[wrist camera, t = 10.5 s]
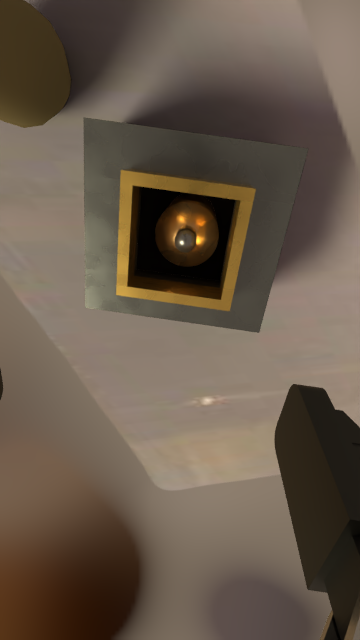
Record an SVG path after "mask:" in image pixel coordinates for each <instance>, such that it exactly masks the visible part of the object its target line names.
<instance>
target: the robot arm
mask: <svg viewBox="0 0 360 640" xmlns="http://www.w3.org/2000/svg"><path fill="white" fill-rule="evenodd" d="M2 392H3V382H2V376H1V370H0V399H1V397H2ZM275 450H276V455H277V459H278V464H279V468H280V472H281V477H282V481H283V485H284V489H285V494H286V498H287V502H288V507H289V511H290V516H291V519H292V524H293V529H294V533H295V537H296V541H297V545H298V550H299V555H300V559H301V563H302V567H303V572H304V576H305V580H306V585H307V589H308V590H314V591H320V592H327V593H328V596H329V600H330V603H331V607H332V611H331V612H330V614H329V616H328V618H327V621H326V624H325V626H324V629H323V632H322V634H321V637H320V640H360V428H359V426H358V425H357V424H356V423H355V422H354V421H353V420H352V419H351V418H350V417H349V416H347V415H346V414H345V413H344V412H343V411H341V410H335V408H334V406H333V404H332V402H331V400H330V398H329V396H328V394H327V393H326V391H325V390H324V389H323V388H318V387H311V386H304V385H297V384H293V385H292V386H291V387H290V389H289V392H288V395H287V397H286V400H285V403H284V406H283V409H282V412H281V414H280V417H279V420H278V423H277V426H276V430H275Z"/></svg>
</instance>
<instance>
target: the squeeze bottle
mask: <svg viewBox="0 0 360 640" xmlns="http://www.w3.org/2000/svg"><path fill="white" fill-rule="evenodd" d="M70 86H71V77H70V72H69V67H68V63H67V59H66V55H65V51H64V47H63V44H62V43H61V41H60V39H59V37H58V36H57V34H56V32H55V30H54V28H53V27H52V25H51V23H50V22H49V21H48V20H47V19H46V18H45V17H44V16H43V15H42V14H41V13H39V12H38V11H37V10H36V9H35V8H34V7H33V6H32V5H31V4H29V3H27V2H26V1H24V0H0V120H2V121H4V122H7V123H11V124H14V125H17V126H20V127H23V128H26V127H33V126H39V125H43V124H44V123H46V122H47V121H48V120H49V119H51V118H52V117H53V116H55V115H56V114H57V113H58V112H59V111H60V110H61V109H62V108H63V107H64V105H65V103H66V101H67V99H68V97H69V95H70Z"/></svg>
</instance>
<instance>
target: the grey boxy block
mask: <svg viewBox="0 0 360 640" xmlns="http://www.w3.org/2000/svg"><path fill="white" fill-rule="evenodd" d="M307 152H308V148H301V147H294V146H286V145H279V144H272V143H265V142H257V141H250V140H243V139H236V138H228V137H221V136H214V135H207V134H199V133H192V132H185V131H178V130H171V129H163V128H156V127H149V126H142V125H134V124H127V123H120V122H113V121H105V120H98V119H91V118H84V208H85V308H92V309H99V310H106V311H112V312H119V313H126V314H133V315H140V316H147V317H154V318H161V319H168V320H175V321H182V322H189V323H196V324H203V325H209V326H216V327H223V328H230V329H237V330H244V331H251V332H258V333H259V331H260V327H261V324H262V320H263V316H264V312H265V309H266V305H267V301H268V297H269V294H270V290H271V286H272V283H273V279H274V275H275V271H276V268H277V264H278V260H279V256H280V253H281V249H282V245H283V242H284V238H285V234H286V230H287V227H288V223H289V219H290V215H291V212H292V208H293V204H294V201H295V197H296V193H297V189H298V186H299V182H300V178H301V174H302V171H303V167H304V163H305V160H306V156H307ZM142 187H148V188H155V189H163V190H170V191H177V192H184V193H191V194H198V195H205V196H213V197H220V198H227V199H234V200H235V204H234V210H233V215H232V220H231V225H230V231H229V236H228V241H227V246H226V252H225V257H224V262H223V268H222V273H221V278H220V280H213V279H206V278H199V277H192V276H185V275H178V274H171V273H164V272H157V271H150V270H143V269H137V254H138V239H139V223H140V208H141V193H142Z"/></svg>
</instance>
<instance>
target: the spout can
mask: <svg viewBox="0 0 360 640" xmlns="http://www.w3.org/2000/svg"><path fill="white" fill-rule="evenodd" d="M155 238H156V243H157V246H158V248H159V250H160V252H161V253H162V255H163V256H164V257H165V258H166V259H167V260H169V261H170V262H172V263H174V264H176V265H179V266H185V267H189V266H195V265H199V264H201V263H203V262H204V261H206V260H207V259H208V258H209V257H210V256H211V255H212V254H213V252H214V251H215V249H216V246H217V244H218V239H219V231H218V224H217V219H216V213H215V209H214V207H213V205H212V203H211V202H210V200H209V199H208V198H206V197H205V196H204V195H198V194H191V193H183V194H181V195H179V196H177V197H176V198H175V199H174V200H173V201H172V202H171V203H170V205H169V206H168V207H167V209H166V210H165V211H164V212H163V214H162V215H161V217H160V218H159V220H158V222H157V225H156V230H155Z"/></svg>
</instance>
